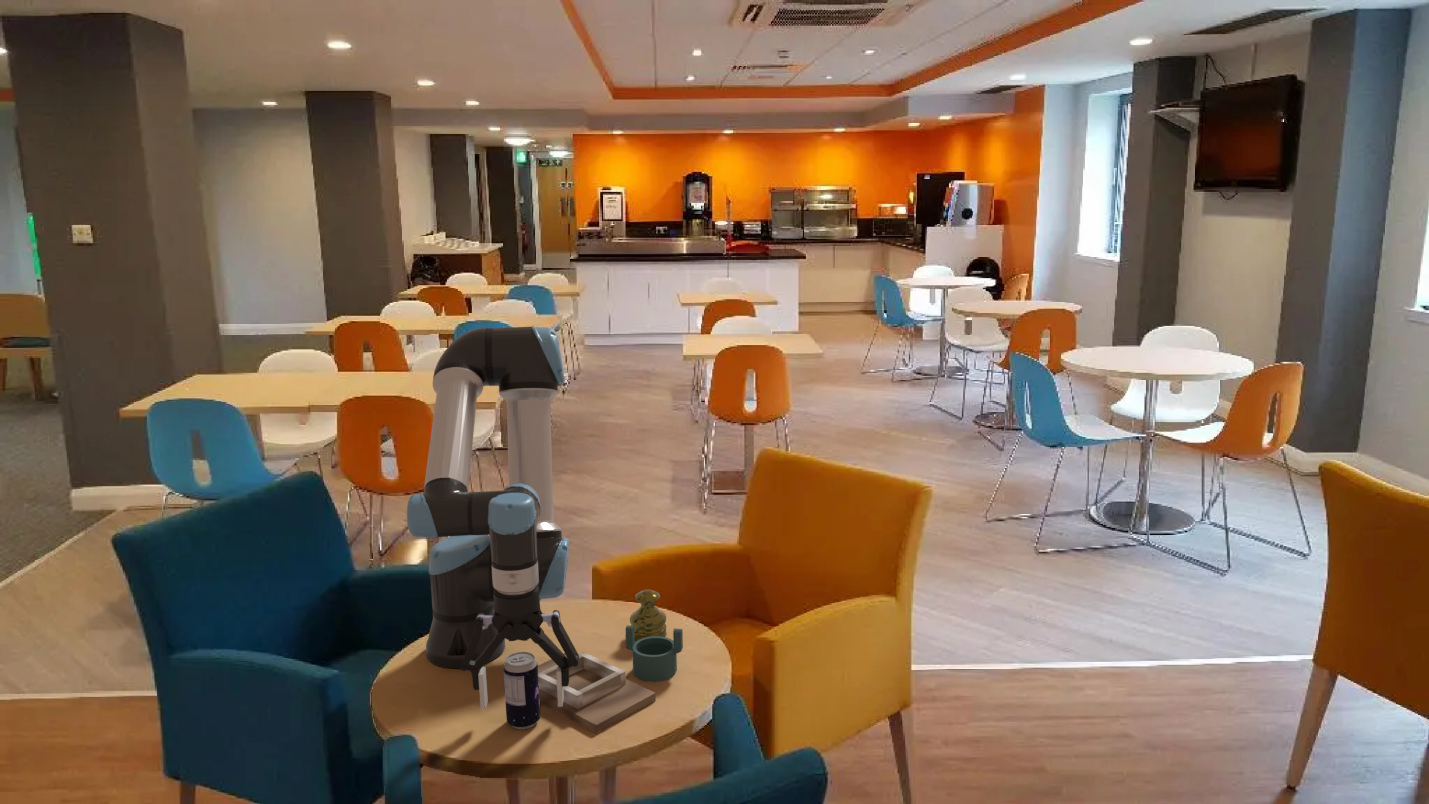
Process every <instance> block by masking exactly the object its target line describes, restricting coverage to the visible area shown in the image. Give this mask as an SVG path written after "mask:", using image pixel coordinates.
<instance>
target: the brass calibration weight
mask: <svg viewBox="0 0 1429 804" xmlns="http://www.w3.org/2000/svg"><path fill="white" fill-rule="evenodd" d="M634 597H635V601H637V602H638V603H640V606H639V608H637V609H636V610H634V611H633V612H632V613H631V614H630V616H629V623H630V626H634V637H635V642H636V641H638V640H640V639H642V638H646V637H652V636H660V637H666V638H667V624H666V621H667V615H666V613H665V612H663V610H660V609H659V608H658V607H657V606H656V605H655V603H656V602H658V601H659V599H660V598H661V595H660V592H657V591H655V590H652V589H649V588H648V589H644V590H640V591H639V592H638V593H635V596H634Z"/></svg>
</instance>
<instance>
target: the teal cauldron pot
mask: <svg viewBox="0 0 1429 804" xmlns="http://www.w3.org/2000/svg"><path fill="white" fill-rule="evenodd" d="M672 632H673V634H672V637H673V638H672V639H671V638H669V637H667V636H666V637H660V636H652V637H646V638H642V639H640V640H638V641H636V642H635V637H634V626H631V625H626V626H625V648H626V649H627V650H629V651H631V652H632V673H633V676H634V677H635V678H637V679H638V680H640V681H643V682H647V683H648V682H649V683H652V682H653V683H657V682H664V681H667V680H670V679H672V678H673V677H674V676H675V675H676V673H677V671H678V663H677V662H678V661H677V658H678V654H679V653H682V650H683V649H684V648H683V647H684V643H683V642H684V640H683V636H684V635H683V629H682V628H673V631H672Z"/></svg>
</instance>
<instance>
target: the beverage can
mask: <svg viewBox="0 0 1429 804" xmlns="http://www.w3.org/2000/svg"><path fill="white" fill-rule="evenodd" d="M538 665H539V664H538V662H537V659H536V656H535V655H534V654H533V653H531V652H528V651H518V652H514V653H511V654H509V655H508V656H506V657H505V663H504V665H503V681H504V682H503V684H504V697H505V698H504V699H505V700H504V701H505V714H506V715H505V716H506V717H505V719H506V723H507V724H508V725H509V726H511V727H512V728H514V729H515V730H516V729H517V730H527V729H530V728H532V727H534V726H535V725H536V724H537V722H538V721H540V719H541V705H540V704H541V703H540V701H539V682H538Z"/></svg>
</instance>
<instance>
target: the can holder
mask: <svg viewBox="0 0 1429 804" xmlns="http://www.w3.org/2000/svg"><path fill="white" fill-rule="evenodd" d="M563 654H564V655H565V656H566V654H565V652H564V653H563ZM578 655H579V661H578V665H577V666H576V667H573V666H572V667H570V668H569V684H568V686H564V687H563V691H564V701H563V706H562V707H558V697H557V676H556V671H557V666H558V665H557V664H556V663H555V662H554V661H553V660H552V659H551V658H550V659H549V660H547V661H545V662H543V663H540V664H538V682H539V701H540V704H541V705H543V706H544V707H545V706H546V707H547V708H549V709H551V710H552V711H555V712H556V711H557V713H559V714H560V715H562V716H564V717H566V718H568V719H570V720H571V721H574V722H575V723H577V724H579V725H580V726H582V727H585V728H587V729H588V730H590V731H592V732H593V733H595V734H598V733H599V732H602V731H603V730H605V729H607V728H608V727H610V726H613V725H614V724H616V723H618V722H619V721H622V720H623V719H625V718H627V717H629V716H631V715H632V714H634V713H636V712H638V711H639V710H641V709H643V708H644V707H645V708H646V706H648V705H650V704H652V703H653V702H655V701H656V700H657V698H656V694H657V693H656V692H654V691H652V690H651V689H648V688H646V687H644V686H642V685H640V684H638V683H636V682H633V681H631V680H630V679H627V678H626V677H627V676H626V671H625V670H623V669H621V668H618V667H617V666H614V665H613V664H610V663H608V662H606V661H604V660H601V659H600V658H597V657H595V656H594V655H591V654H589V653H587V652H584V651H583V652H581V653H578ZM566 657H567V656H566Z"/></svg>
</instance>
